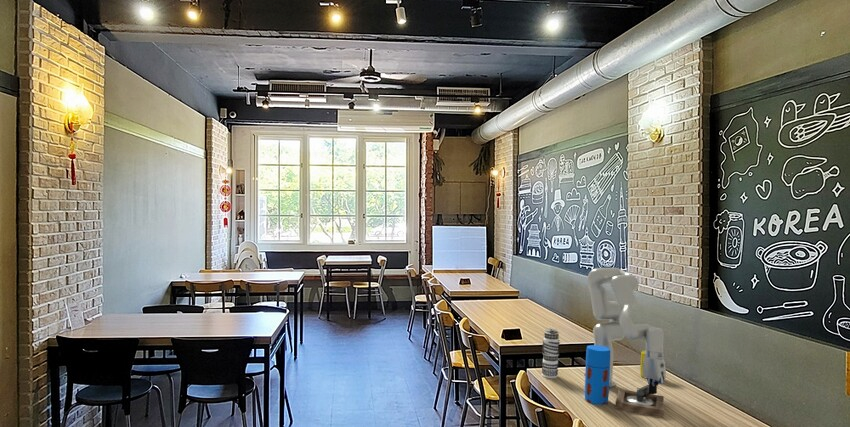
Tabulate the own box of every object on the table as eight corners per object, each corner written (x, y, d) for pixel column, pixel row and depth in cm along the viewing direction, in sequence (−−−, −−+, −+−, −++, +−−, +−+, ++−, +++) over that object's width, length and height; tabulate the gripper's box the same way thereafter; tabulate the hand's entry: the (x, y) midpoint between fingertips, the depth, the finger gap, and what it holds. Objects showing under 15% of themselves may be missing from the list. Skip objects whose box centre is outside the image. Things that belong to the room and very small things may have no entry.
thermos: (596, 406, 248) (598, 352, 248) (579, 398, 258) (581, 346, 257) (613, 402, 253) (615, 349, 253) (596, 395, 263) (598, 344, 262)
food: (657, 378, 297) (656, 385, 288) (635, 370, 302) (633, 376, 293) (665, 353, 295) (664, 358, 286) (643, 345, 300) (641, 350, 291)
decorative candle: (561, 375, 292) (563, 329, 291) (553, 379, 285) (555, 332, 284) (546, 371, 298) (548, 326, 297) (537, 375, 291) (539, 329, 290)
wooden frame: (615, 409, 245) (615, 401, 245) (618, 395, 264) (618, 388, 264) (663, 417, 237) (663, 410, 237) (663, 402, 256) (663, 395, 256)
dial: (646, 409, 242) (647, 395, 242) (622, 401, 251) (622, 388, 251) (661, 401, 253) (662, 388, 253) (637, 394, 262) (638, 381, 261)
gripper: (673, 357, 247) (671, 397, 247) (647, 349, 261) (646, 387, 261) (661, 359, 244) (659, 399, 244) (635, 350, 258) (634, 389, 258)
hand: (652, 393), depth 253 cm, fingers closed
